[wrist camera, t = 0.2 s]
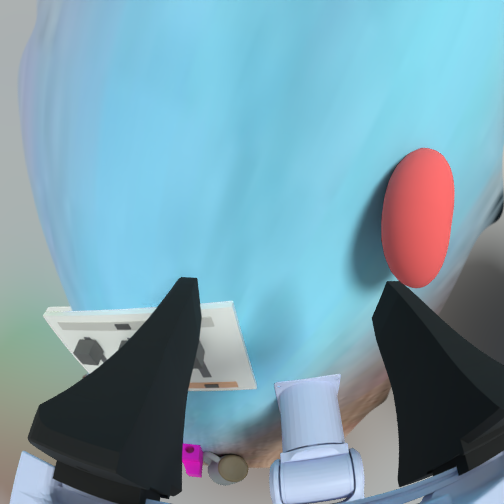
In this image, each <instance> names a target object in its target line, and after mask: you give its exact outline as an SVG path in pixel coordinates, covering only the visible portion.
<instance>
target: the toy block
mask: <svg viewBox="0 0 504 504" xmlns="http://www.w3.org/2000/svg"><path fill="white" fill-rule="evenodd" d="M182 462H183V464H184V466H185V469H186V473H187V474H188V475H189V476H193V477H202V464H203V451H202V449H201V447H200V445H192V444H183V449H182Z"/></svg>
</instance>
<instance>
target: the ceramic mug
mask: <svg viewBox="0 0 504 504" xmlns="http://www.w3.org/2000/svg"><path fill="white" fill-rule="evenodd" d="M203 461H204V462H205V463H206V464H208V465H209V466H208V473H209V476H210V478H211V479H212V480H213V481H214V482H216V483H217V484H220V485H230V484H233V483H237V482H240V481H242V480H243V479H244V478H245V477H246V476H247V473H248V465H247V463H246V461H245V460H244V459H243V458H241V457H239V456H237V455H225V456H222V457H218V456H217V455H215V454H213V453H211V452H203Z"/></svg>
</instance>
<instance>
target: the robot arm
mask: <svg viewBox="0 0 504 504" xmlns="http://www.w3.org/2000/svg"><path fill="white" fill-rule="evenodd" d="M201 320H202V315H201V307H200V299H199V290H198V281H197V278H186V277H181V278H179V279H178V281H177V282H176V283H175V285H174V286H173V287H172V289H171V290H170V291H169V293H168V294H167V295H166V297H165V298H164V299H163V301H162V302H161V303H160V304H159V306H158V307H157V308H156V309H155V310H154V312H153V313H152V314H151V315H150V317H149V318H148V319H147V320H146V321H145V322H144V323H143V325H142V326H141V327H140V328H139V329H138V330H137V331H136V332H135V334H134V335H133V336H132V337H131V338H130V339H129V340H128V341H127V342H126V343H125V344H124V345H123V346H122V347H121V348H120V349H119V350H118V351H116V352H115V353H114V354H113V355H112V356H111V357H110V358H109V359H107V360H106V361H105V362H104V363H103V364H102V365H100V366H99V367H98V368H97V369H95V370H94V371H93V372H92V373H90V374H89V375H87V376H86V377H85V378H83V379H82V380H80V381H79V382H77V383H76V384H75V385H73V386H72V387H70V388H69V389H67V390H66V391H64V392H62V393H60V394H58V395H57V396H55V397H53V398H52V399H50V400H48V401H46V402H44V403H42V404H40V405H39V407H38V410H37V412H36V415H35V417H34V420H33V424H32V426H31V429H30V432H29V435H28V440H29V442H30V443H31V444H32V445H33V446H35V447H36V448H38V449H39V450H41V451H42V452H44V453H46V454H47V455H49V456H51V457H52V458H54V459H56V460H57V462H56V466H53V465H51V464H49V463H47V462H45V461H43V460H41V459H39V458H37V457H35V456H33V455H31V454H29V453H27V452H26V451H22V454H21V457H20V461H19V465H18V469H17V472H16V477H15V481H14V485H13V490H12V494H11V500H10V504H170V503H165V502H160V497H161V498H166V499H169V497H170V496H175V495H177V494H179V493H180V492H181V491H182V449H183V432H184V419H185V409H186V400H187V394H188V389H189V384H190V380H191V375H192V371H193V366H194V362H195V357H196V353H197V349H198V344H199V338H200V329H201ZM372 321H373V326H374V331H375V336H376V340H377V343H378V347H379V350H380V353H381V356H382V359H383V362H384V365H385V368H386V371H387V374H388V377H389V380H390V383H391V387H392V390H393V394H394V400H395V406H396V413H397V422H398V433H399V468H398V484H399V487H402V486H405V485H408V484H411V483H414V482H416V481H419V480H422V479H425V478H427V477H430V476H432V475H433V477H431V478H428V479H425V480H423V481H420V482H417V483H415V484H412V485H409V486H406V487H403V488H400V489H396V490H393V491H390V492H386V493H383V494H379V495H375V496H371V497H367V498H364V470H363V464H362V459H361V456H360V453H359V452H358V451H356V450H355V449H354V448H351V449H348V443H345V440H344V434H343V428H342V422H341V416H340V410H339V405H338V399H337V394H338V389H339V384H340V379H341V375H340V374H334V375H328V376H321V377H315V378H307V379H300V380H291V381H282V382H276V383H274V387H275V391H276V396H277V401H278V406H279V411H280V413H281V427H282V447H283V453H280V459H277V460H275V461H274V463H273V464H272V465H271V467H270V477H269V480H270V494H271V499H272V502H273V504H309V503H317V502H323V501H330V500H336V499H341V498H346V497H347V498H346V499H345V500H343V501H341V502H337V503H332V504H403V503H406V502H409V501H412V500H415V499H417V498H420V497H422V496H424V497H423V499H422V501H421V502H420V503H418V504H504V365H502V364H501V363H499V362H497V361H496V360H494V359H492V358H491V357H489V356H488V355H486V354H484V353H483V352H481V351H480V350H479V349H477V348H476V347H474V346H473V345H472V344H471V343H469V342H468V341H467V340H465V339H464V338H463V337H462V336H460V335H459V334H458V333H457V332H456V331H454V330H453V329H452V328H451V327H450V326H449V325H447V324H446V323H445V322H444V321H443V320H442V319H441V318H440V317H439V316H438V315H437V314H436V313H434V312H433V311H432V310H431V309H430V308H429V307H428V306H427V305H426V304H425V303H424V302H423V301H422V300H421V299H420V298H418V297H417V296H416V295H415V294H414V293H413V292H412V291H411V290H410V289H409V288H407V287H406V286H405V285H404V284H403V283H401V282H400V281H387V282H386V285H385V288H384V290H383V293H382V295H381V298H380V300H379V302H378V305H377V307H376V310H375V312H374V314H373V317H372ZM336 378H338V379H336ZM277 386H280V387H277Z"/></svg>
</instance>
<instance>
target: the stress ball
mask: <svg viewBox="0 0 504 504" xmlns="http://www.w3.org/2000/svg"><path fill="white" fill-rule="evenodd" d="M453 209H454V181H453V175H452V172H451V168H450V166H449V164H448V162H447V161H446V159H445V158H444V156H443V155H442V154H441V153H439V152H438V151H436V150H433V149H429V148H420V149H417V150H415V151H413V152H411V153H409V154H407V155H406V156H405V157H404V158H403V159H402V161H401V162H400V163H399V164H398V165H397V166H396V168H395V170H394V172H393V174H392V176H391V178H390V179H389V183H388V186H387V190H386V193H385V197H384V203H383V210H382V220H381V241H382V246H383V251H384V256H385V259H386V261H387V263H388V266H389V268H390V270H391V272H392V273H393V274H394V275H395V277H396V278H397V279H398V280H399V281H400V282H401V283H403V284H404V285H407V286H409V287H412V288H421V287H424V286H426V285H428V284H429V283H430V282H431V281H432V280H433V279H434V278H435V277H436V276H437V274H438V272H439V271H440V269H441V267H442V265H443V262H444V259H445V256H446V253H447V249H448V245H449V239H450V232H451V223H452V216H453Z"/></svg>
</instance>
